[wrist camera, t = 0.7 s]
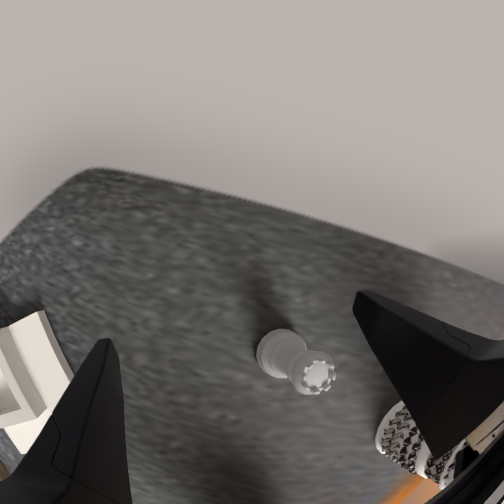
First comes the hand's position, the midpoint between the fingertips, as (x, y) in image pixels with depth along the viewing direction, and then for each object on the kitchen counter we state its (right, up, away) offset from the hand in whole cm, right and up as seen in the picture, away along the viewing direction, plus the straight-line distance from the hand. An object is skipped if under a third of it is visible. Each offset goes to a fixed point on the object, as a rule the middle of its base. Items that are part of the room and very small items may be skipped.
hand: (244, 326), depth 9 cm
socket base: (-21, -10, +9) cm, 25 cm away
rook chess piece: (+3, -7, +16) cm, 17 cm away
